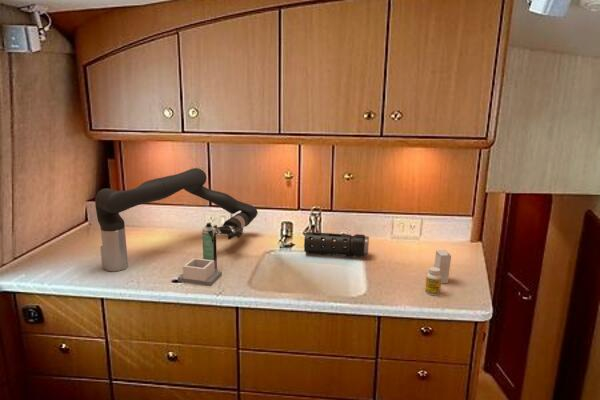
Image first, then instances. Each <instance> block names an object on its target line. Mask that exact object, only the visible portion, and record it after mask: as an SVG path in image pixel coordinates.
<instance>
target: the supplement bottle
mask: <svg viewBox="0 0 600 400" xmlns="http://www.w3.org/2000/svg"><path fill="white" fill-rule="evenodd" d="M439 273H440V269H439V268H437V267H434V266H431V267H429V268H428V273H427V274H426V276H425V277H426V278H425V280H426V281H425V288H424V289H425V294H427V293H428V294H427V295H429V294H430V296H439V295H440V294H441V287H442V286H441V285H442V284H441V275H440V274H439ZM438 294H439V295H438Z"/></svg>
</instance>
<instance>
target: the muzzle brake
mask: <svg viewBox="0 0 600 400" xmlns="http://www.w3.org/2000/svg"><path fill="white" fill-rule="evenodd" d="M304 234H305V235H304V239H303V240H304V242H303V243H304V244H303V248H304V252H305V253H306V254H308V255H309V254H311V255H324V256H325V255H326V256H327V255H330V256H333V255H343V256H345V257H350V258H354V257H355V256H356V257H365V256H368V255H369V244H370V241H369V239H370V237H369V236H366V235H365V234H359V233H358V234H354V235H352V234H347V233H346V234H345V233H330V232H329V233H328V232H311V231H306V232H305V233H304Z"/></svg>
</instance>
